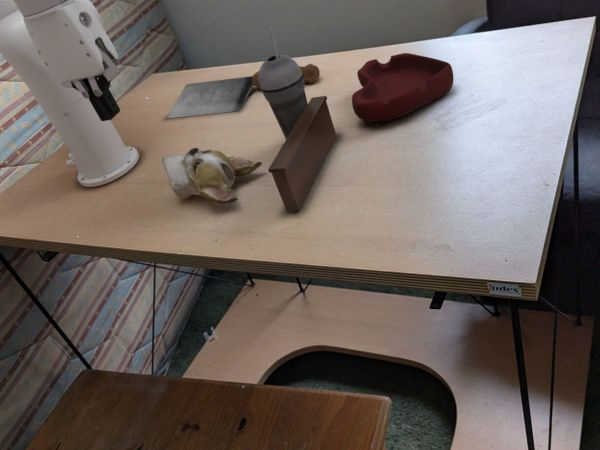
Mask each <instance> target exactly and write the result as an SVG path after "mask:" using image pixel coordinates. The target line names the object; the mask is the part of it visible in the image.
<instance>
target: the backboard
mask: <svg viewBox="0 0 600 450" xmlns="http://www.w3.org/2000/svg"><path fill="white" fill-rule="evenodd" d="M327 100H328V97H327V95H322V96H314V97H311V98H310V100H309V101H308V102H307V103H308V105H307V106H306V108H305V109H304V111H303V113H302V114H301V116H300V118H299V119H298V121H297V123H296V124H295V126H294V128H293V129H292V131H291V133H290V134H289V136H288V137H287V139H285V141H284V143H283V144H282V146H281V147H280V149H279V151H278V152H277V153H276V155H275V157H274V159H273V161H272V162H271V164H270V165H269V167H268V170H267V171H268V173H269V174H271V175H272V179H273V181H274V183H275V186H276V188H277V191H278V193H279V196H280V199H281V201H282V204H283V207H284V208H285V211H286V213H300V212H301V210H302V208H303V206H304V204H305V202H306V200H307V198H308V196H309V194H310V192H311V189H312V188H313V185H314V184H315V182H316V179H317V178H318V176H319V173H320V171H321V169H322V167H323V165H324V163H325V161H326V159H327V157H328V155H329V154H330V151H331V149H332V148H333V145H334V143H335V141H336V140H337V137H338V136H337V133H336V129H335V126H334V123H333V120H332V116H331V112H330V109H329V106H328V102H327Z"/></svg>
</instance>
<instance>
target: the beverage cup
mask: <svg viewBox="0 0 600 450" xmlns="http://www.w3.org/2000/svg"><path fill="white" fill-rule="evenodd" d="M269 33H270V38H271V42H272V47H273V52H274V55H272V56H269V57H268V58H267V59H266V60H264V61H263V62H262V64H261V66H260V69H259V70H258V71H259V84H260V88H259V90H260V92H262V95H263V96H264V98H265V100H266V101H267V102H268V105H269V107H270V109H271V111H272V114H273V115H274V117H275V119H276V121H277V124H278V126H279V128H280V130H281V132H282V134H283V137H284V139H285V140H286V139H287V137H288V136H289V134H290V133H291V131H292V129H293V128H294V126H295V124H296V123H297V121H298V119H299V118H300V116H301V114H302V113H303V111H304V109H305V108H306V106H307V105H308V103H309V102H308V99H307V95H306V91H305V82H304V79H303V76H304V75H303V73H302V71H301V70H300V67H299V66H300V65H299V64H298V63H297V62H296V61H295V60H294V59H293V58H291V57H290V56H288V55H285V54H279V50H278V46H277V42H276V41H277V40H276V37H275V33H274V28H273V27H269Z"/></svg>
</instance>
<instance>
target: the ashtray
mask: <svg viewBox="0 0 600 450" xmlns="http://www.w3.org/2000/svg"><path fill="white" fill-rule="evenodd" d="M356 73H357V79H358V81H359V84H360V86H361V88H360V89H358V90H357V91H355V92H354V93H353V94H352V95H351V106H352V109H353V112H354V114H355V116H356V117H357V118H358V119H360V120H361V121H363V122H364V121H365V122H369V124H370V125H371V126H379V125H382V124H384V123H386V122H387V121H390V120H394V119H399V118H400V117H403V116H406V115H407V114H409V113H411V112H412V111H414V110H416V109H417V108H420V107H422V106H425V105H426V104H429V103H430V102H433V101H435V100H437V99H439V98H440V99H441V98H442V97H444V96H446V95H447V93H449V92H450V91H451V89H452V88H453V85H454V78H455V77H454V76H455V75H454V71H453V67H452V65H451V63H449V62H448V61H444V60H442V59H438V58H433V57H429V56H425V55H419V54H415V53H409V52H402V53H398V54H394V55H391V56H390V58H389V60H388V61H387V62H385V63H382V62H380V61H379V60H378V59H377V58H375V59H370V60H368V61H366V62H365V63H364V65H363V66H362V67H360V68H359V69H358V70H357V72H356Z"/></svg>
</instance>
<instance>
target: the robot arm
mask: <svg viewBox="0 0 600 450" xmlns="http://www.w3.org/2000/svg"><path fill="white" fill-rule="evenodd" d="M0 55H1V56H2V57H3V59H4V60H5V61H6V62H7V63H8V65H10V67H11V68H12V69H13V70H14V71H15V73H16V74H17V75H18V76H19V77H20V79H21V80H22V81H23V83H24V84H25V85H26V86H27V88H28V89H29V91H30V92H31V94H32V95H33V96H34V98H35V99H36V101H37V103H38V104H39V106H40V107H41V109H42V111H43V112H44V114H45V115H46V117H47V118H48V120H49V122H50V123H51V125H52V126H53V128H54V129H55V132H56V133H57V135H58V136H59V137H60V139H61V141H62V142H63V144H64V145H65V147H66V148H67V151H68V152H69V153H68V160H66V163H65V164H66V166H67V167H68V168H71V167H72V168H73V167H75V168H76V169H77V171H78V174H77V181H78V183H79V184H80V186H82V187H86V188H94V187H100V186H103V185H106V184H108V183H111V182H113V181H115V180H117V179H119V178H121V177H123V176H124V175H125V174H127V173H128V172H130V171H131V170H132V169H133V168H134V167H135V165H136V164H137V163H138V161H139V159H140V154H139V152H138V150H137V148H136V147H133V146H126V145H125V143H124V141H123V139H122V138H121V136H120V134H119V132H118V131H117V129H116V127H115V125H114V123H113V122H112V120H113V119H114V118H115V117H116V116H117V115H119V113H120V112H121V108H120V107H119V105H118V104H119V103H117V100H116V99H115V97H114V95H113V93H112V91H111V90H110V89H111V87H112V84H111V82H112V80H114V79H116V77H117V76H119V75H120V73H121V70H119V68H118V66H116V63H117V62H118V61H119V59H120V58H119V54H118V52H117V50H116V48H115V46H114V44H113V42H112V40H111V39H110V38H109V36H108V34H107V32H106V31H105V28H104V27H103V20H102V17H101V16H100V13H99V11H98V10H97V8H96V6H94V4H93V3H92V2H91V0H0Z"/></svg>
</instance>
